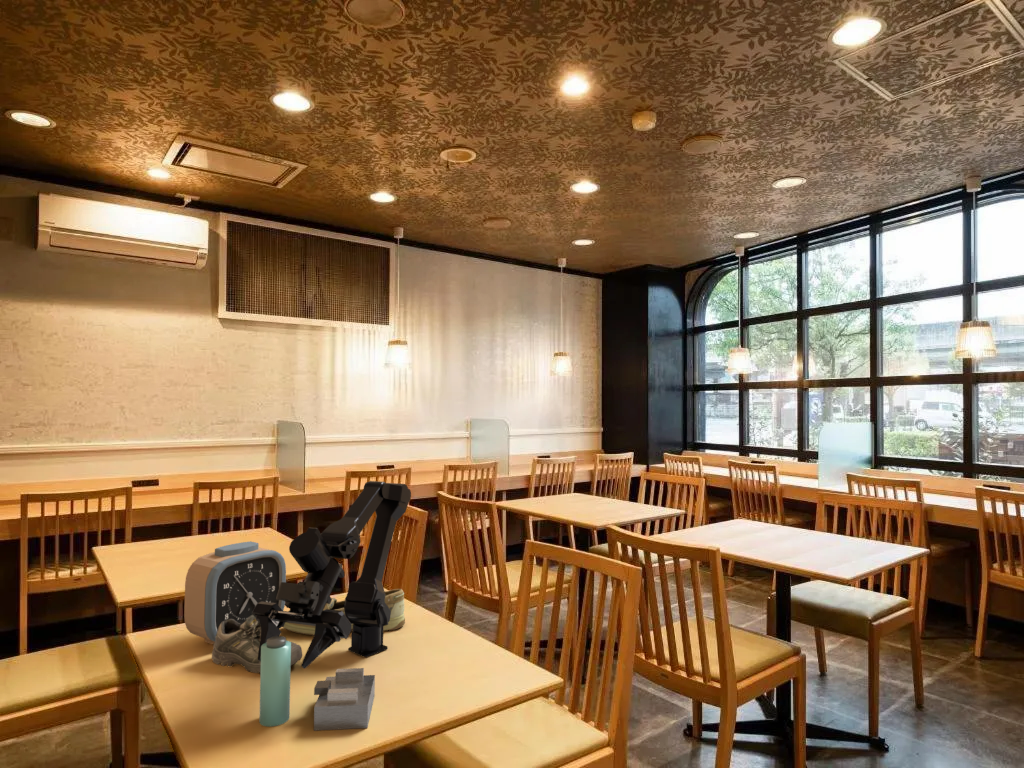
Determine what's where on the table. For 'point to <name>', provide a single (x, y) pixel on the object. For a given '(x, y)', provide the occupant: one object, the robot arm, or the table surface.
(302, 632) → the boat shoe
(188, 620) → the alarm clock
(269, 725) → the bottle
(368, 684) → the block
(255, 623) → the hiking shoe
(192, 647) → the table surface
